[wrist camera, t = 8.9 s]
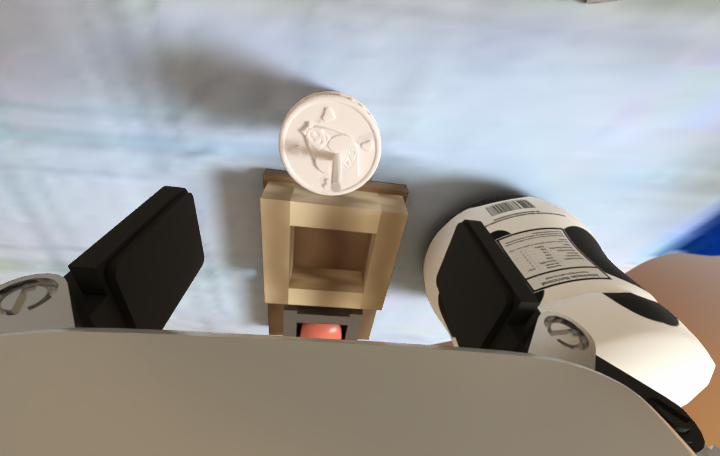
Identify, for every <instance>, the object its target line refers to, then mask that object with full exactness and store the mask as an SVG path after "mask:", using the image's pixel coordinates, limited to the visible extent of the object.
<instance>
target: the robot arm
mask: <svg viewBox="0 0 720 456" xmlns="http://www.w3.org/2000/svg"><path fill="white" fill-rule="evenodd" d="M203 262H204V252H203V247H202V242H201V236H200V231H199V225H198V220H197V215H196V209H195V204H194V198H193V195H192V194H191V193H188V192H187V190H186V189H185V188H180V187H171V186H164V187H162V188H161V189H160V190H159V191H158V192H156V193H155V194H154V195H153V196H152V197H150V198H149V199H148V200H147V201H145V202H144V203H143V204H142V205H141V206H139V207H138V208H137V209H136V210H135V211H133V212H132V213H131V214H130V215H129V216H127V217H126V218H125V219H124V220H123V221H121V222H120V223H119V224H118V225H117V226H115V227H114V228H113V229H112V230H110V231H109V232H108V233H107V234H106V235H104V236H103V237H102V238H101V239H100V240H98V241H97V242H96V243H95V244H94V245H92V246H91V247H90V248H89V249H88V250H86V251H85V252H84V253H83V254H82V255H80V256H79V257H78V258H77V259H75V260H74V261H73V262H72V263H71V264H69V265H68V267H69V269H70V272H69V273H67V274H66V275H65V276H64V277H62V276H60V275H57V274H49V273H46V274H34V275H29V276H24V277H21V278H18V279H15V280H11V281H9V282H6V283H4V284H2V285H0V456H720V449H719V448H717V447H716V446H715V445H712V446H711V447H709V448H708V447H707V446H706V445H705V441H704V438H703V436H702V433H701V431H700V430H699V428H698V427H697V425H696V424H695V422H694V421H693V420H692V419H691V418H690V417H689V416H688V415H687V413H686V412H685V411H684V410H683V409H682V408H681V407H680V406H679V405H677V404H676V403H674V402H673V401H671V400H670V399H668V398H667V397H665V396H664V395H662V394H660V393H659V392H657V391H655V390H654V389H652V388H650V387H649V386H647V385H645V384H644V383H642V382H640V381H639V380H637V379H635V378H634V377H632V376H630V375H629V374H627V373H625V372H624V371H622V370H620V369H619V368H617V367H615V366H614V365H612V364H610V363H609V362H607V361H605V360H604V359H602V358H600V357H599V356H597V355H596V346H595V342H594V340H593V338H592V337H591V335H590V334H589V333H588V332H587V331H586V329H585V328H583V327H582V326H581V325H580V324H579V323H577V322H576V321H574V320H572V319H571V318H569V317H567V316H565V315H563V314H560V313H556V312H543V313H541V312H540V311H539V309H538V306H539V305H540V304H541V303H540V302H539V300H538V299H537V297H536V296H535V295H534V293H533V292H532V291H531V289H530V288H529V286H528V285H527V284H526V282H525V281H524V280H523V278H522V277H521V275H520V274H519V273H518V271H517V270H516V268H515V267H514V266H513V264H512V263H511V262H510V260H509V259H508V257H507V256H506V255H505V253H504V252H503V251H502V249H501V248H500V246H499V245H498V244H497V242H496V241H495V240H494V238H493V237H492V235H491V234H490V233H489V231H488V230H487V229H486V227H485V226H484V224H483V223H482V222H481V221H476V220H467V219H465V220H463V221H462V223H458V224H457V226H456V228H455V231H454V233H453V236H452V238H451V241H450V244H449V246H448V249H447V251H446V254H445V256H444V259H443V261H442V264H441V266H440V269H439V271H438V274H437V277H436V285H437V288H438V291H439V293H440V296H441V299H442V302H443V305H444V307H445V310H446V313H447V316H448V318H449V321H450V324H451V327H452V329H453V332H454V335H455V338H456V341H457V343H458V346H459V347H453V346H437V345H422V344H406V343H390V342H375V341H358V340H341V339H324V338H307V337H289V336H272V335H253V334H234V333H215V332H196V331H177V330H162V329H163V328H164V326H165V324H166V323H167V321H168V320H169V318H170V316H171V315H172V313H173V312H174V310H175V308H176V307H177V305H178V304H179V302H180V300H181V299H182V297H183V296H184V294H185V292H186V291H187V289H188V288H189V286H190V284H191V283H192V281H193V280H194V278H195V276H196V275H197V273H198V272H199V270H200V268H201V267H202V265H203Z"/></svg>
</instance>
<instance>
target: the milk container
mask: <svg viewBox="0 0 720 456" xmlns="http://www.w3.org/2000/svg"><path fill="white" fill-rule="evenodd" d="M465 219H467V220H476V221H481V222H482V223H483V224H484V226H485V227H486V229H487V230H488V231H489V233H490V234H491V235H492V237H493V238H494V240H495V241H496V242H497V244H498V245H499V246H500V248H501V249H502V251H503V252H504V253H505V255H506V256H507V257H508V259H509V260H510V262H511V263H512V264H513V266H514V267H515V268H516V270H517V271H518V273H519V274H520V275H521V277H522V278H523V280H524V281H525V282H526V284H527V285H528V286H529V288H530V289H531V291H532V292H533V293H534V295H535V296H536V297H537V299H538V300H539V302H540V303H541V304H540V305H539V306H538V309H539V311H540V312H541V313H543V312H556V313H560V314H563V315H565V316H567V317H569V318H571V319H572V320H574V321H576V322H577V323H579V324H580V325H581V326H582V327H583V328H585V329H586V331H587V332H588V333H589V334H590V335H591V337H592V338H593V340H594V342H595V346H596V355H597V356H599V357H600V358H602V359H604V360H605V361H607V362H609V363H610V364H612V365H614V366H615V367H617V368H619V369H620V370H622V371H624V372H625V373H627V374H629V375H630V376H632V377H634V378H635V379H637V380H639V381H640V382H642V383H644V384H645V385H647V386H649V387H650V388H652V389H654V390H655V391H657V392H659V393H660V394H662V395H664V396H665V397H667V398H668V399H670V400H671V401H673V402H674V403H676V404H677V405H679V406H680V407H682V406H683V405H685V404H687V403H688V402H690V401H691V400H692V399H693V398H694V397H695V396H696V395H697V394H698V393H699V392H700V391H701V390H703V389H704V388H705V387H706V386H707V385H708V384H709V381H710V379H711V376H712V374H713V371H714V369H715V364H714V362H713V360H712V359H711V357H710V356H709V354H708V352H707V351H706V349H704V347H703V346H702V344H701V343H700V342H699V341H698V339H697V338H696V337H695V336H694V335H693V334H692V333H691V332H690V331H689V330H688V329H687V328H686V327H685V326H684V325H683V324H682V323H681V322H680V321H679V320H678V319H677V318H676V317H675V316H674V315H673V314H672V313H670V312H669V311H668V310H667V309H665V308H664V307H663V306H661V305H660V304H659V303H657V301H656V300H655V299H654V297H653V296H652V295H650V294H649V293H648V292H647V291H646V290H644V289H643V288H642V287H641V286H640V285H638V284H637V283H636V282H635V281H633V280H632V279H631V278H629V277H628V276H627V275H626V274H624V273H623V272H622V271H621V270H619V269H618V268H617V267H616V266H615V265H614V264H613V263H612V262H611V261H610V260H609V259H608V258H607V257H606V255H605V254H604V252H603V251H602V249H601V247H600V246H599V244H598V242H597V241H596V239H595V238H594V236H593V235H592V233H591V232H590V231H589V230H588V228H587V227H586V226H585V225H584V224H583V223H582V222H581V221H579V220H578V219H577V218H576V217H574V216H573V215H572V214H570V213H569V212H567V211H566V210H564V209H562V208H560V207H558V206H556V205H554V204H552V203H550V202H547V201H545V200H542V199H539V198H535V197H530V196H501V197H496V198H493V199H489V200H485V201H482V202H479V203H476V204H474V205H472V206H470V207H468V208H467V209H465V210H463V211H462V212H460V213H458V214H457V215H455V216H454V217H452V218H451V219H450V220H449V221H448V222H447V223H446V224H445V225H444V226H443V227H442V228H441V229H440V230H439V231H438V232H437V234H436V235H435V236H434V238H433V240H432V242H431V244H430V246H429V248H428V250H427V253H426V256H425V260H424V283H425V289H426V293H427V296H428V300H429V302H430V304H431V306H432V309H433V310H434V312H435V314H436V315H437V317H438V318H439V320H440V321H441V322H442V324H443V325H444V327H445V328H446V329H447V331H448V332H449V334H450V337H451V339H452V342H453V345H454V347H459V346H458V343H457V341H456V338H455V335H454V332H453V329H452V327H451V324H450V321H449V318H448V316H447V313H446V310H445V307H444V305H443V302H442V299H441V296H440V293H439V291H438V288H437V285H436V277H437V274H438V271H439V269H440V266H441V264H442V261H443V259H444V256H445V254H446V251H447V249H448V246H449V244H450V241H451V238H452V236H453V233H454V231H455V228H456V226H457V224H458V223H462V221H463V220H465Z"/></svg>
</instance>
